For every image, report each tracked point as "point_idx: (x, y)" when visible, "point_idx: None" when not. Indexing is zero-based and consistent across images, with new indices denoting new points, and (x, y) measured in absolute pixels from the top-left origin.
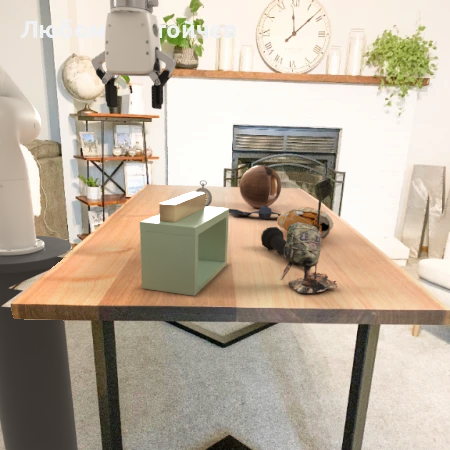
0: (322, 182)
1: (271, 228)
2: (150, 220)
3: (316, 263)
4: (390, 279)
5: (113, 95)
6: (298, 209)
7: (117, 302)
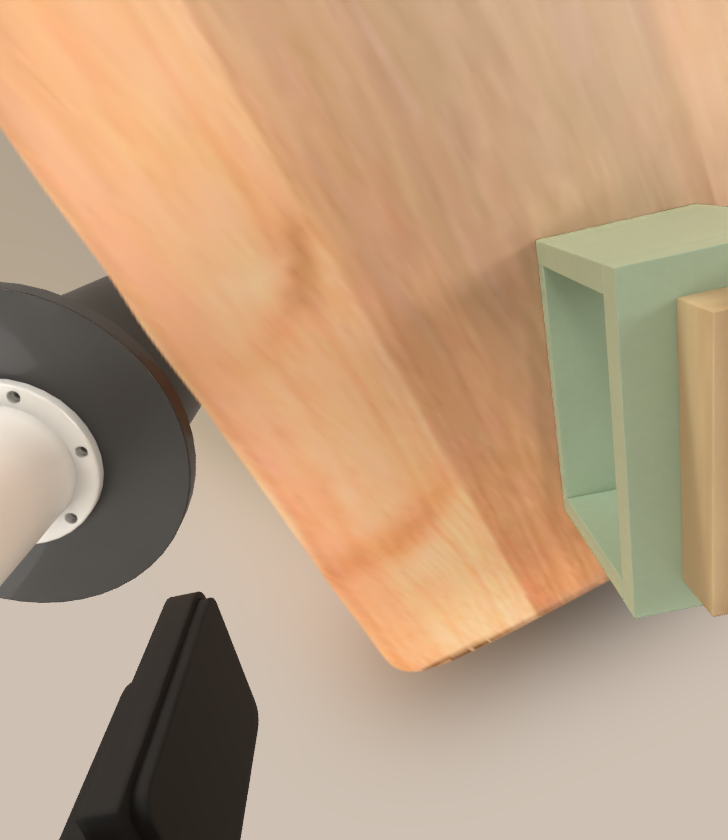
0: None
1: None
2: (653, 588)
3: None
4: None
5: (216, 760)
6: None
7: (562, 588)
